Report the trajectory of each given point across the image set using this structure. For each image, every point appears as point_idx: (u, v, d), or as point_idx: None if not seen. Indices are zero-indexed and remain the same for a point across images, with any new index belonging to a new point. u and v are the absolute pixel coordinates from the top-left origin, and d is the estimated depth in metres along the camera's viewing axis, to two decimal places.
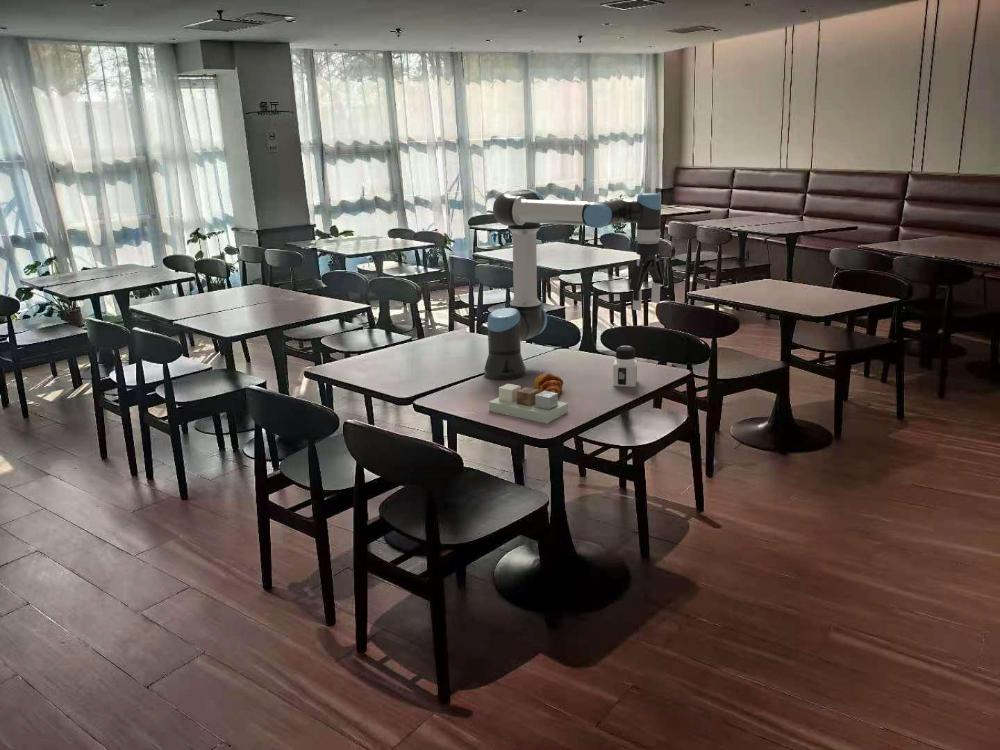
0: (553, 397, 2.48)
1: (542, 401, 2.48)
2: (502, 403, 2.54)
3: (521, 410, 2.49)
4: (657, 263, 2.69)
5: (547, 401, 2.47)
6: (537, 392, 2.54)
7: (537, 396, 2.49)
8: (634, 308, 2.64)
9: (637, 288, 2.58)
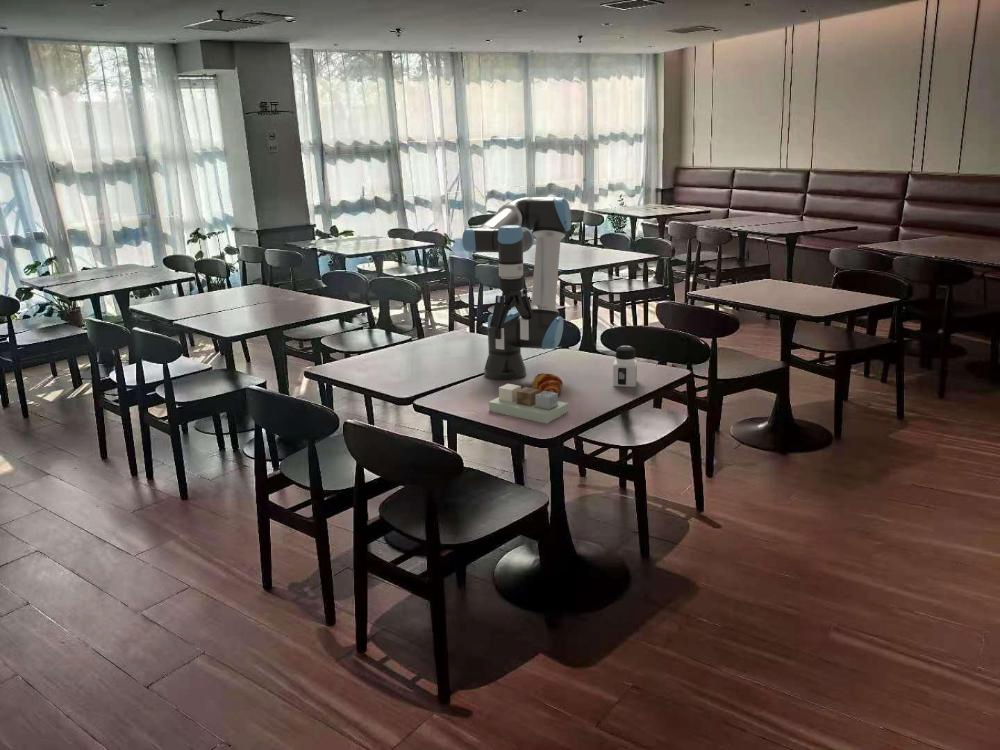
0: (553, 397, 2.48)
1: (542, 401, 2.48)
2: (502, 403, 2.54)
3: (521, 410, 2.49)
4: (524, 298, 2.54)
5: (547, 401, 2.47)
6: (537, 392, 2.54)
7: (537, 396, 2.49)
8: (497, 347, 2.48)
9: (497, 326, 2.43)
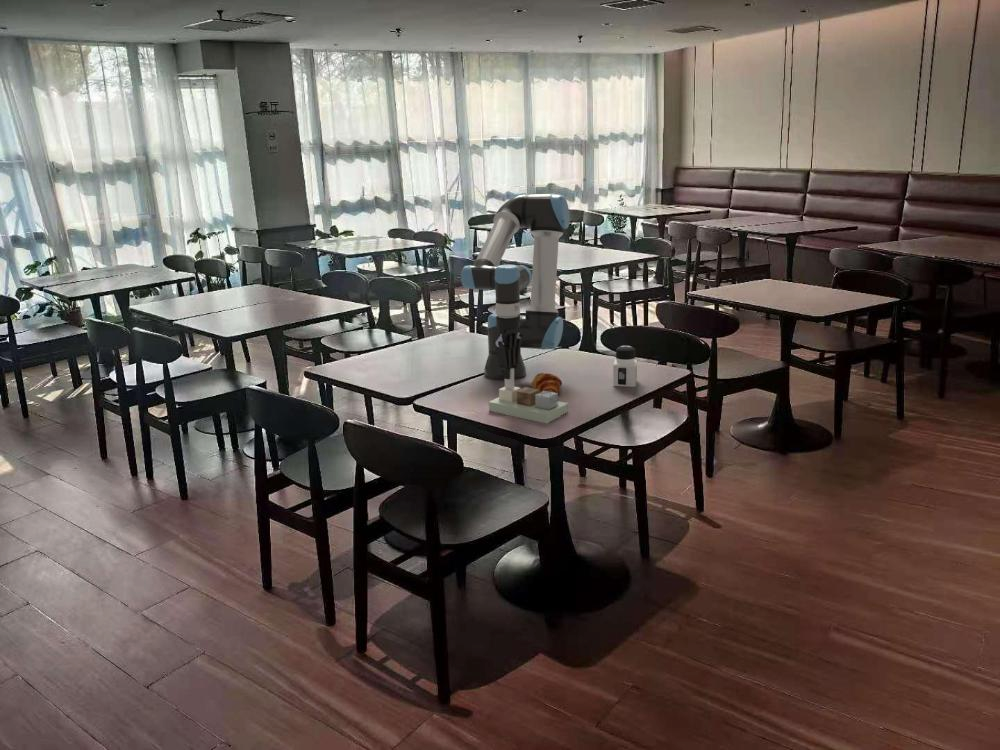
0: (553, 397, 2.48)
1: (542, 401, 2.48)
2: (502, 403, 2.54)
3: (521, 410, 2.49)
4: (517, 341, 2.56)
5: (547, 401, 2.47)
6: (537, 392, 2.54)
7: (537, 396, 2.49)
8: (506, 386, 2.57)
9: (507, 367, 2.52)
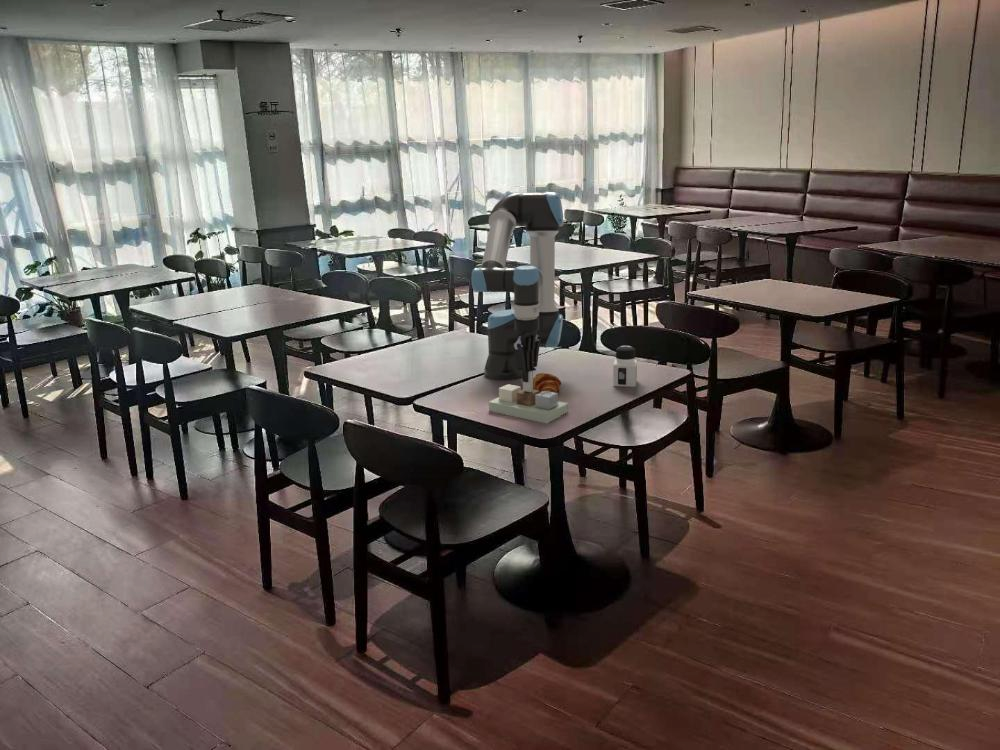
0: (553, 397, 2.48)
1: (542, 401, 2.48)
2: (502, 403, 2.54)
3: (521, 410, 2.49)
4: (536, 344, 2.52)
5: (547, 401, 2.47)
6: (537, 393, 2.54)
7: (537, 396, 2.49)
8: (524, 389, 2.53)
9: (525, 370, 2.48)
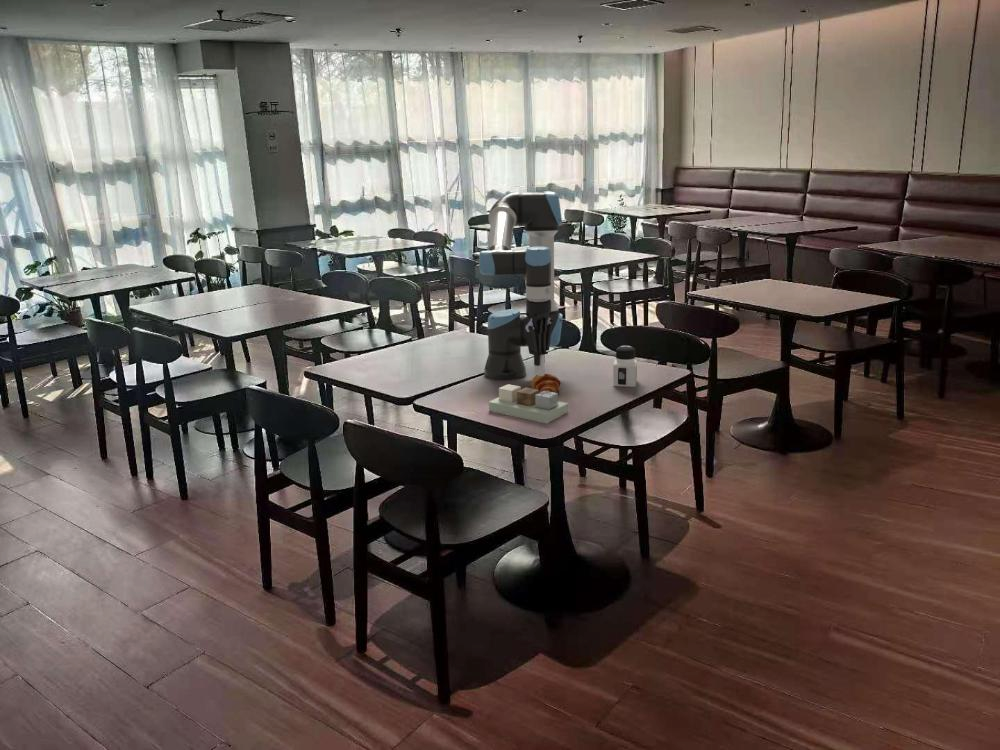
0: (553, 397, 2.48)
1: (542, 401, 2.48)
2: (502, 403, 2.54)
3: (521, 410, 2.49)
4: (548, 327, 2.47)
5: (547, 401, 2.47)
6: (537, 392, 2.54)
7: (537, 396, 2.49)
8: (536, 373, 2.48)
9: (537, 353, 2.43)
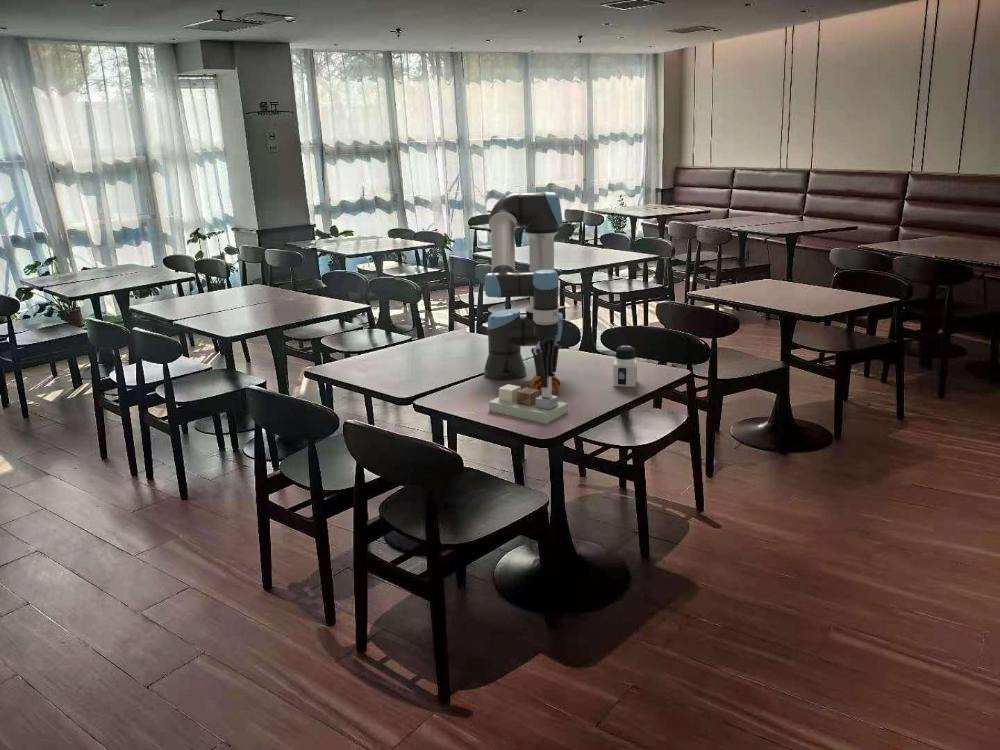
0: (553, 400, 2.48)
1: (543, 404, 2.48)
2: (502, 403, 2.54)
3: (521, 410, 2.49)
4: (555, 349, 2.48)
5: (547, 404, 2.47)
6: (537, 392, 2.54)
7: (537, 399, 2.49)
8: (543, 395, 2.49)
9: (544, 375, 2.44)
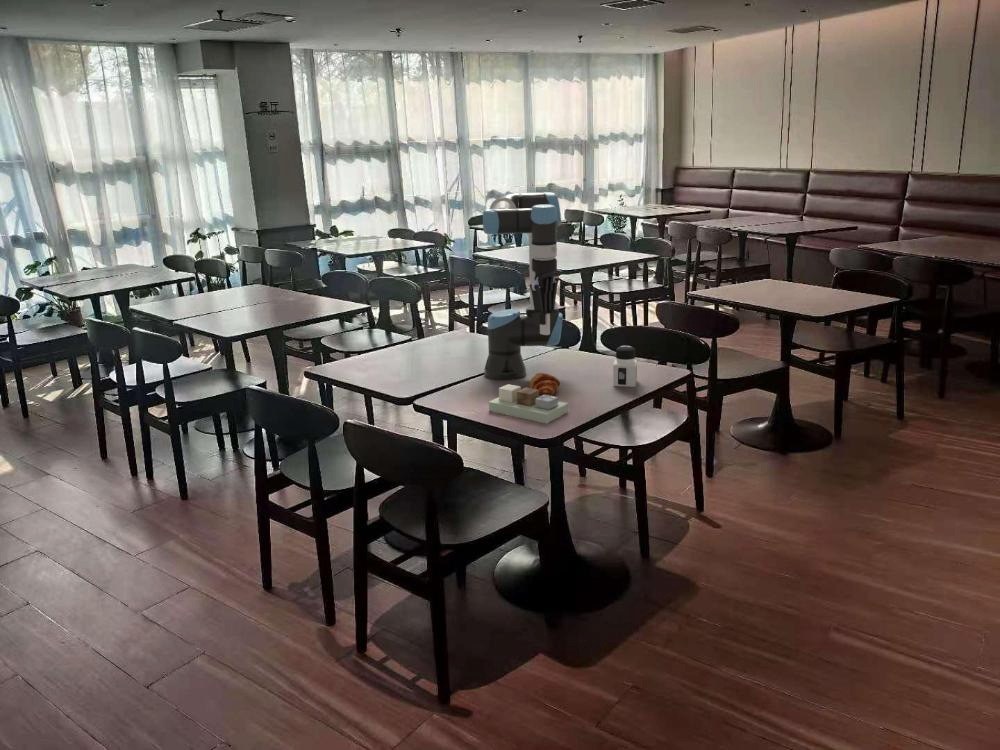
0: (553, 401, 2.48)
1: (543, 405, 2.48)
2: (502, 403, 2.54)
3: (521, 410, 2.49)
4: (553, 286, 2.47)
5: (547, 405, 2.47)
6: (537, 392, 2.54)
7: (537, 400, 2.49)
8: (541, 332, 2.48)
9: (543, 312, 2.43)
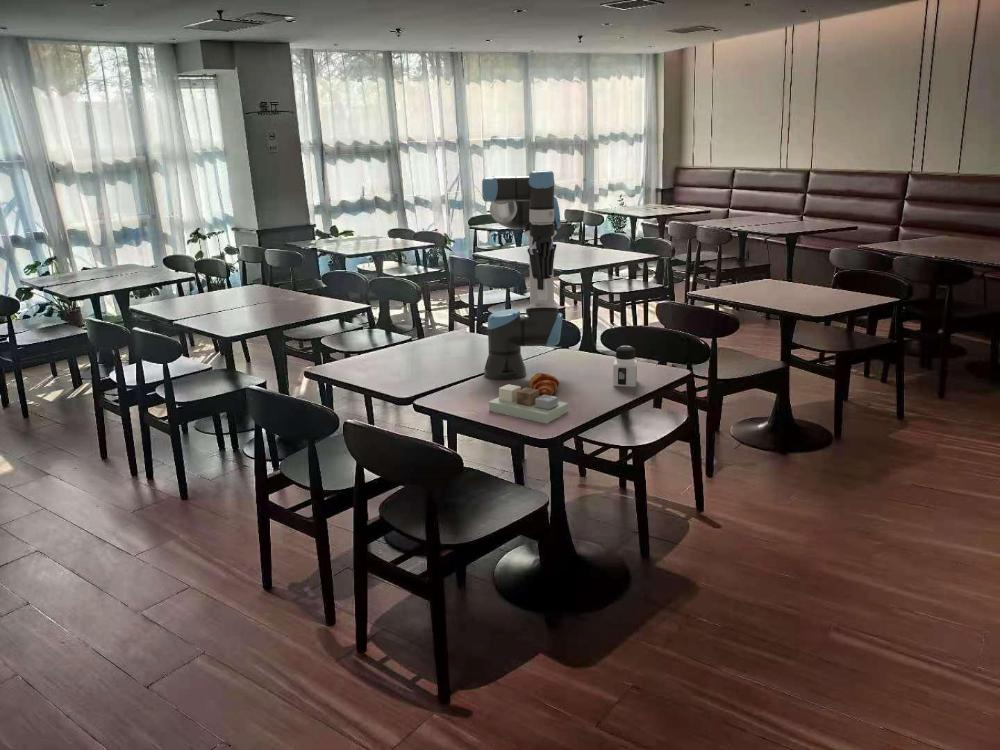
0: (553, 401, 2.48)
1: (543, 405, 2.48)
2: (502, 403, 2.54)
3: (521, 410, 2.49)
4: (551, 252, 2.51)
5: (547, 405, 2.47)
6: (537, 392, 2.54)
7: (537, 400, 2.49)
8: (539, 298, 2.52)
9: (540, 276, 2.47)
